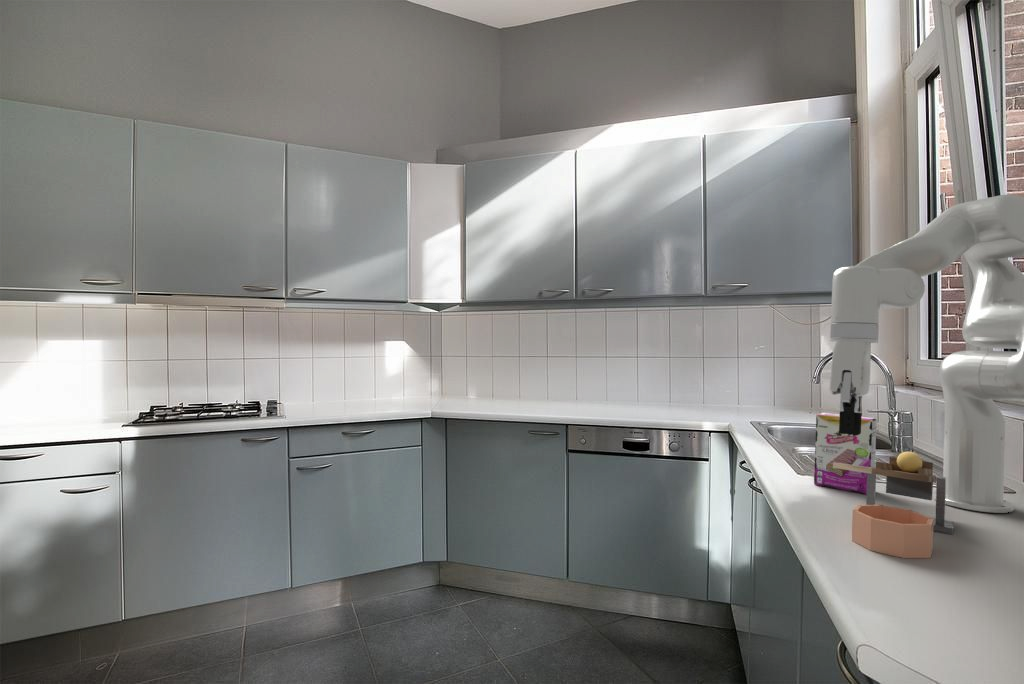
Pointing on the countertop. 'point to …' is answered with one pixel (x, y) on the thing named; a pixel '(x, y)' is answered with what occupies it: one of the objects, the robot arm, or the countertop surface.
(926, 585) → the countertop surface
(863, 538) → the salmon orange faceted bowl
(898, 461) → the ball
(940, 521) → the stand
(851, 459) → the candy bar box
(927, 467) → the wooden tray
